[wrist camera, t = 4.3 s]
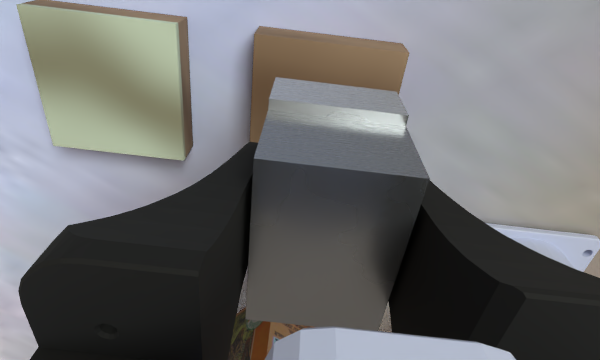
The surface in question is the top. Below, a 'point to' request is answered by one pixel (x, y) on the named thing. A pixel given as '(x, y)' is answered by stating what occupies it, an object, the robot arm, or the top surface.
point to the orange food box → (257, 337)
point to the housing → (330, 205)
